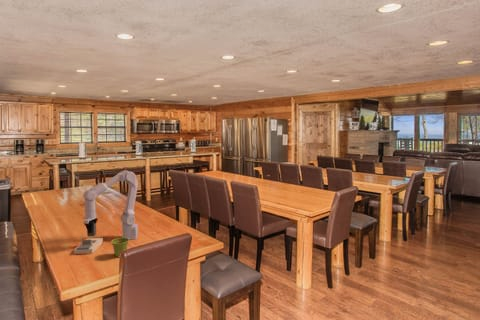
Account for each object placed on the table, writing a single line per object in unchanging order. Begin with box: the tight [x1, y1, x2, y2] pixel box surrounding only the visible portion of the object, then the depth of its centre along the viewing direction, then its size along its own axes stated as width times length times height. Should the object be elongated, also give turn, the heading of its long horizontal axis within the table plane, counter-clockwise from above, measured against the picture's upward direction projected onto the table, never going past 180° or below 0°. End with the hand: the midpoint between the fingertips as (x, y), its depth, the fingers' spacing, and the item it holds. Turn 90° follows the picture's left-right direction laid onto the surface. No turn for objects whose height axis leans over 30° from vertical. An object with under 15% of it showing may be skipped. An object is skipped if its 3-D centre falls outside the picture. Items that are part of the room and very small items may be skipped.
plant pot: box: [110, 237, 130, 258], centre depth 177 cm, size 9×9×9 cm
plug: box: [86, 222, 97, 237], centre depth 189 cm, size 4×4×8 cm
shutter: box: [76, 238, 92, 250], centre depth 181 cm, size 6×7×3 cm
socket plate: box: [73, 237, 104, 255], centre depth 188 cm, size 10×18×2 cm, turn 6°
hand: (91, 231), depth 190 cm, fingers closed on plug, 3 cm apart
